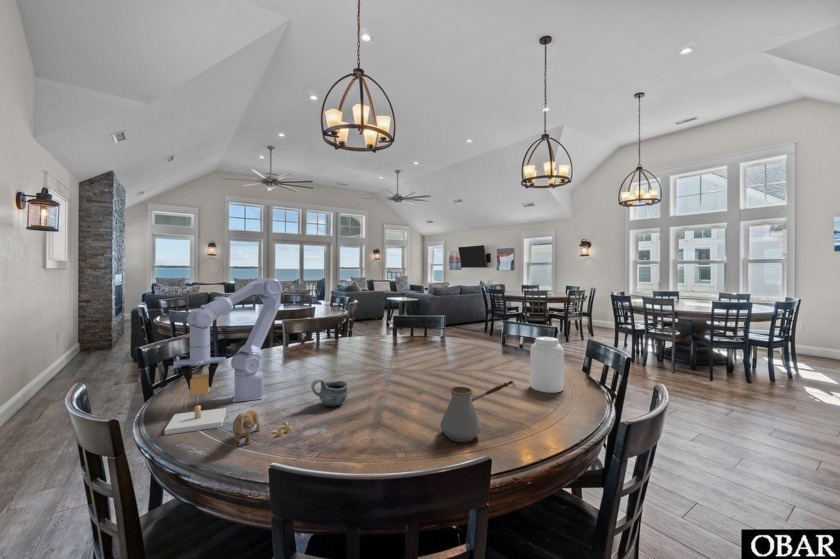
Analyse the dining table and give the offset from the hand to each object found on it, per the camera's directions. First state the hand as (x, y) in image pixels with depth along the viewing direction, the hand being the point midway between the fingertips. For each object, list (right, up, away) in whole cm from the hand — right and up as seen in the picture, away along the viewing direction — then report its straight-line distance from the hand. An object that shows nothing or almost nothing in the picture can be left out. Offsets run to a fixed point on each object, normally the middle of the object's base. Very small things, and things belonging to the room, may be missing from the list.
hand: (200, 387), depth 120 cm
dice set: (+33, -9, -16) cm, 38 cm away
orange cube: (0, -1, 0) cm, 1 cm away
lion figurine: (+25, -8, -21) cm, 34 cm away
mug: (+41, -8, +5) cm, 42 cm away
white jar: (+122, -8, +25) cm, 124 cm away
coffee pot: (+88, -8, -17) cm, 90 cm away
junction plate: (+5, -8, -10) cm, 14 cm away
